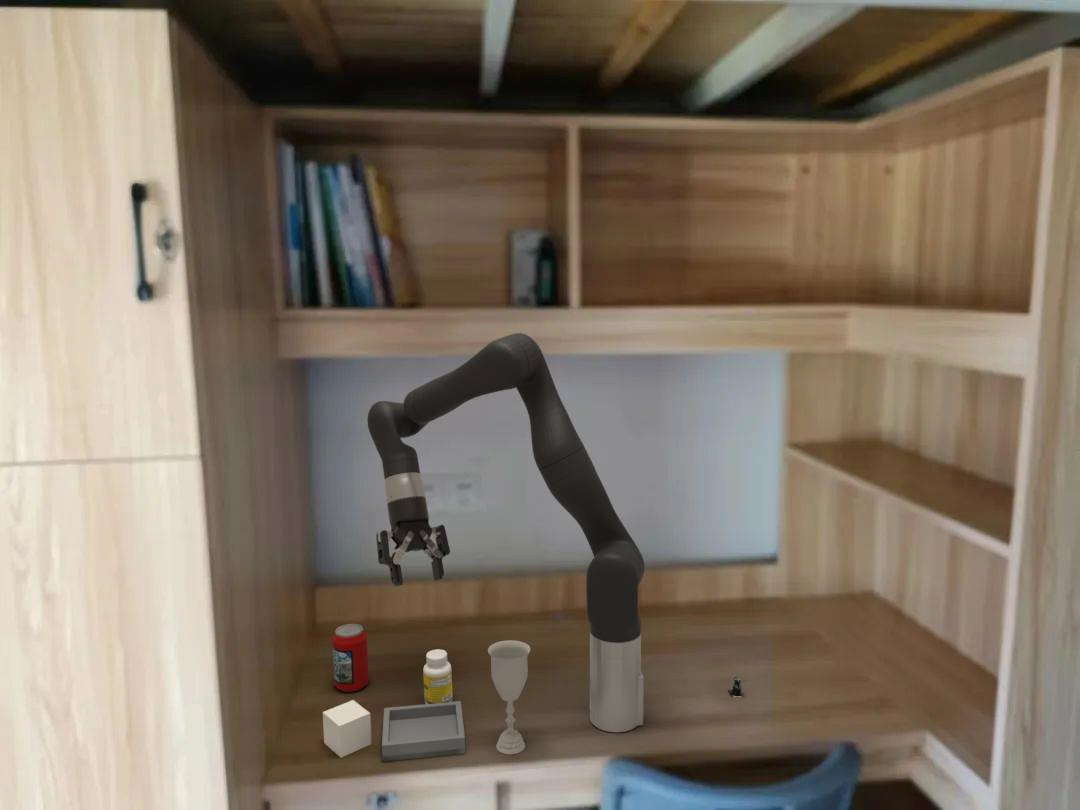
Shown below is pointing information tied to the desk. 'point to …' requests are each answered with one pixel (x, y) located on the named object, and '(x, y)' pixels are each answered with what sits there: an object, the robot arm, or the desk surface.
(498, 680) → the chalice
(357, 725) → the white cube
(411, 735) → the tray
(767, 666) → the desk surface
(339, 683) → the beverage can
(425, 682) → the supplement bottle
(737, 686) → the sculpture
